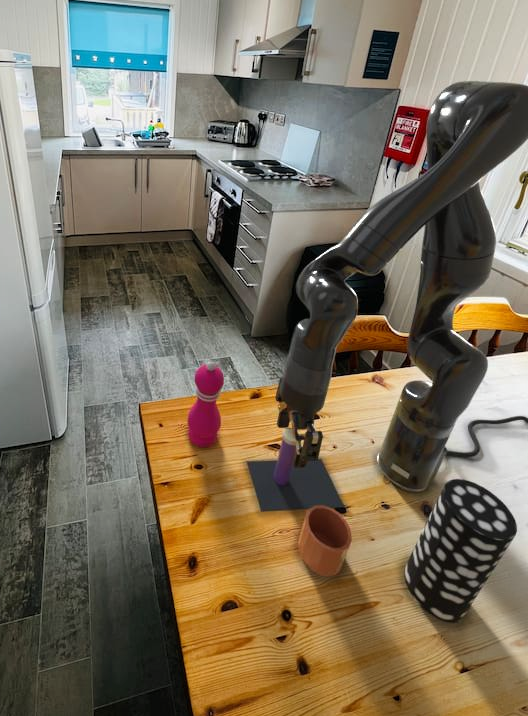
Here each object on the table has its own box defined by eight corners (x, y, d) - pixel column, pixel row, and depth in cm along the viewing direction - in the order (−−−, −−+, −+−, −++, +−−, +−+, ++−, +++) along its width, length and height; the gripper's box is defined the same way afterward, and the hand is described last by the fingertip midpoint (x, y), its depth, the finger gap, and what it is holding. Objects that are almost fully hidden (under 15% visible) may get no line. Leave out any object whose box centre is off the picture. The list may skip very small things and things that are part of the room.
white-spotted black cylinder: (441, 635, 57) (493, 551, 49) (391, 573, 64) (430, 490, 56) (476, 608, 60) (530, 525, 52) (425, 551, 67) (466, 471, 59)
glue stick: (285, 471, 79) (296, 427, 74) (291, 485, 76) (302, 441, 72) (271, 472, 79) (281, 428, 74) (276, 486, 76) (286, 441, 71)
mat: (320, 460, 82) (321, 458, 82) (344, 508, 73) (344, 507, 73) (246, 463, 81) (246, 461, 81) (260, 513, 72) (261, 511, 72)
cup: (329, 530, 70) (338, 504, 67) (349, 576, 63) (360, 550, 60) (291, 532, 69) (298, 506, 66) (307, 579, 63) (316, 552, 60)
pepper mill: (217, 452, 83) (228, 378, 75) (183, 445, 84) (190, 371, 76) (220, 425, 89) (230, 354, 81) (188, 419, 90) (195, 348, 83)
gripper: (347, 409, 62) (326, 480, 68) (310, 350, 75) (295, 414, 81) (301, 410, 61) (284, 482, 67) (271, 350, 74) (259, 415, 80)
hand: (290, 444), depth 74 cm, fingers open, 8 cm apart
